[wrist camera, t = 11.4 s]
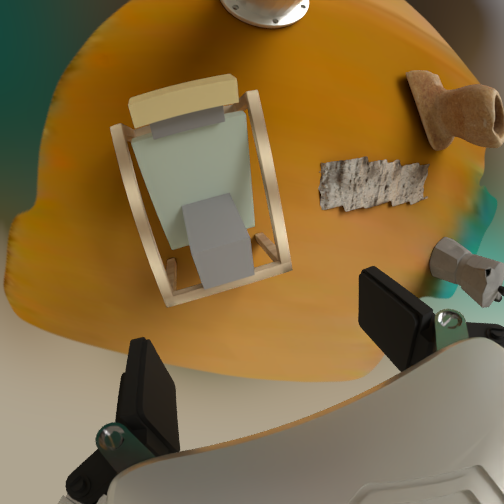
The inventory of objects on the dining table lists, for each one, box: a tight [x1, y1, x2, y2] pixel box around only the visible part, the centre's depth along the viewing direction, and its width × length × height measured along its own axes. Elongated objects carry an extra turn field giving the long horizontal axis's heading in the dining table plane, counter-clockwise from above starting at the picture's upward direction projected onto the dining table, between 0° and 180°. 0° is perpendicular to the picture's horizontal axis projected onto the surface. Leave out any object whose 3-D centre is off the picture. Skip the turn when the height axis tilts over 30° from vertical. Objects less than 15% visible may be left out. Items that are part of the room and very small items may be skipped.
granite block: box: [182, 193, 255, 290], centre depth 27 cm, size 5×5×7 cm
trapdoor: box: [128, 74, 255, 250], centre depth 25 cm, size 18×10×3 cm, turn 12°
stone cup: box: [406, 70, 504, 151], centre depth 30 cm, size 15×12×15 cm
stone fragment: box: [318, 157, 429, 211], centre depth 39 cm, size 25×3×10 cm
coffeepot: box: [430, 237, 504, 308], centre depth 41 cm, size 15×9×18 cm, turn 56°
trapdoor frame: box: [110, 90, 292, 308], centre depth 28 cm, size 18×13×10 cm
